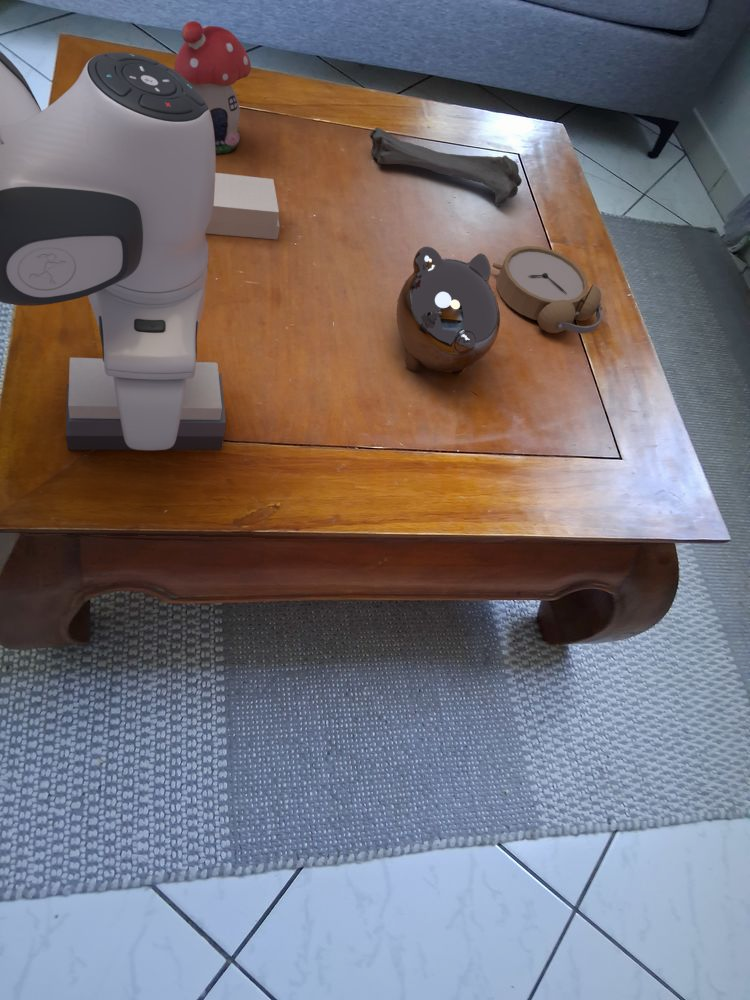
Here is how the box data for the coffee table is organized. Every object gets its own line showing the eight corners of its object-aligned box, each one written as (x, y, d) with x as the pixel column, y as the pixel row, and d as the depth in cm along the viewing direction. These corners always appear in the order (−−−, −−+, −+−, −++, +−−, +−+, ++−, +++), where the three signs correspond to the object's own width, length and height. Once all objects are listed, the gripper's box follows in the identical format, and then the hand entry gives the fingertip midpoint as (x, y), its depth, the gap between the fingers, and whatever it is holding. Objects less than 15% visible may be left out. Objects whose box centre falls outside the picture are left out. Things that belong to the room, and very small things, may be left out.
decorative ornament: (176, 154, 96) (181, 32, 84) (166, 122, 99) (169, -1, 86) (248, 156, 99) (263, 39, 87) (236, 124, 102) (249, 7, 90)
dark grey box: (67, 450, 70) (63, 421, 66) (68, 398, 73) (65, 368, 69) (222, 449, 74) (226, 422, 71) (217, 401, 77) (221, 372, 74)
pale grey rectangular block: (69, 418, 67) (68, 405, 65) (71, 370, 69) (69, 357, 68) (220, 420, 71) (222, 408, 69) (216, 374, 73) (217, 362, 72)
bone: (512, 189, 111) (530, 152, 106) (512, 216, 107) (530, 179, 102) (367, 144, 108) (378, 103, 103) (361, 170, 104) (372, 128, 99)
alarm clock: (542, 236, 101) (630, 295, 95) (531, 268, 105) (615, 328, 98) (484, 258, 96) (573, 322, 89) (475, 291, 99) (559, 355, 93)
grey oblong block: (157, 229, 88) (157, 200, 85) (155, 195, 91) (156, 166, 88) (277, 239, 92) (282, 212, 89) (272, 206, 95) (276, 179, 92)
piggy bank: (463, 309, 94) (498, 234, 85) (486, 405, 86) (528, 334, 77) (376, 300, 91) (403, 221, 82) (392, 398, 83) (424, 323, 74)
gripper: (103, 187, 63) (109, 309, 74) (104, 380, 53) (110, 487, 64) (182, 195, 65) (176, 312, 76) (197, 382, 54) (187, 486, 66)
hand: (146, 394), depth 70 cm, fingers closed on pale grey rectangular block, 5 cm apart
